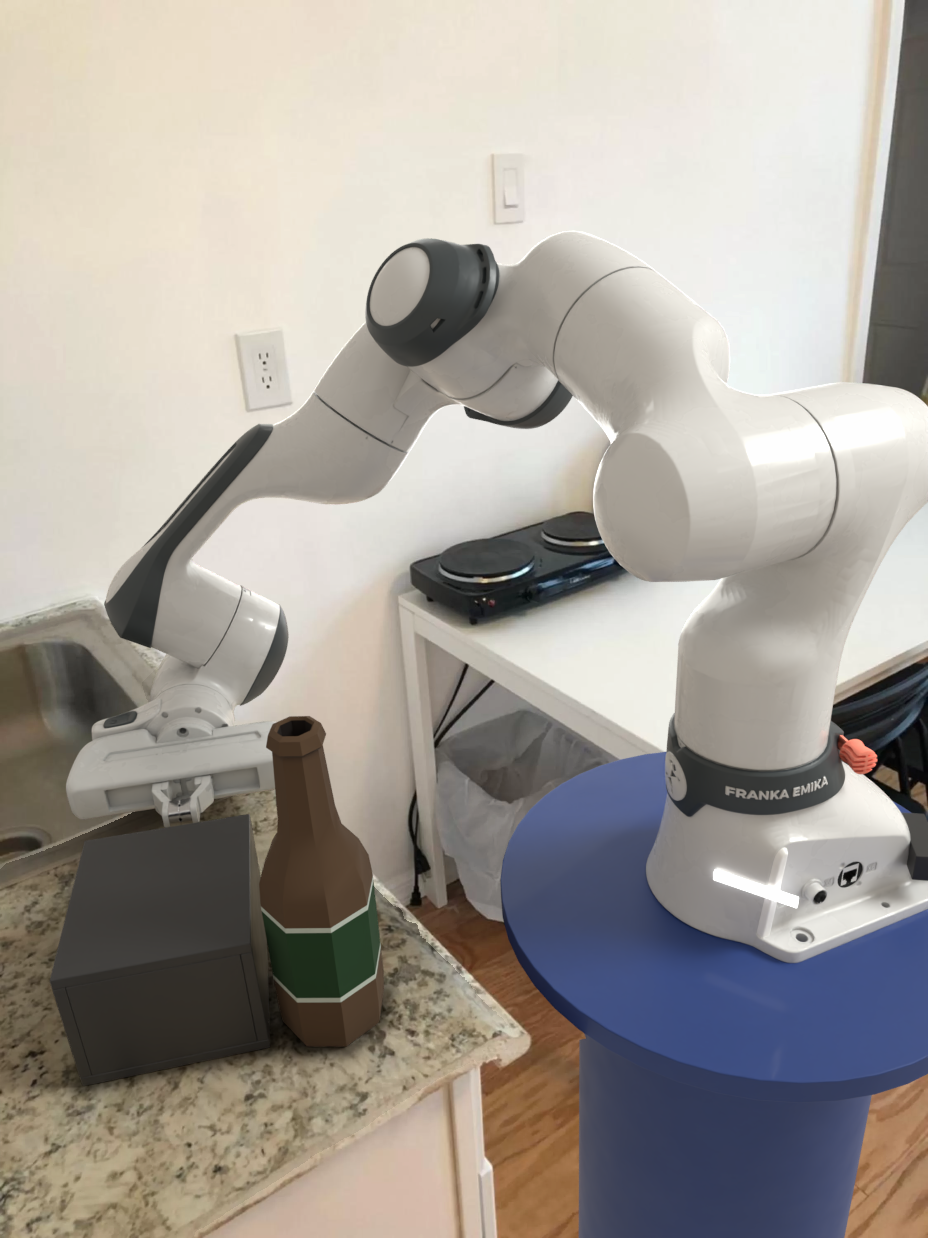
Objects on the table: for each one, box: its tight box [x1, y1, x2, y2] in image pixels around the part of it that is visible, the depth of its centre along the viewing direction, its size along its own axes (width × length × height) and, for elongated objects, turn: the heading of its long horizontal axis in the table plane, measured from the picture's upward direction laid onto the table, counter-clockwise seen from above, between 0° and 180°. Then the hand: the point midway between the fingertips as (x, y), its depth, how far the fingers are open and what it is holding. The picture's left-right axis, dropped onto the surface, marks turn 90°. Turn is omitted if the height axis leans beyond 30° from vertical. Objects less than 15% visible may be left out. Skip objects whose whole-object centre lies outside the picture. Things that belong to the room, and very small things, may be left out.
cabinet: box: [49, 813, 271, 1087], centre depth 69 cm, size 15×13×10 cm
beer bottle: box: [259, 715, 385, 1048], centre depth 63 cm, size 8×8×24 cm
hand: (180, 819), depth 80 cm, fingers closed
